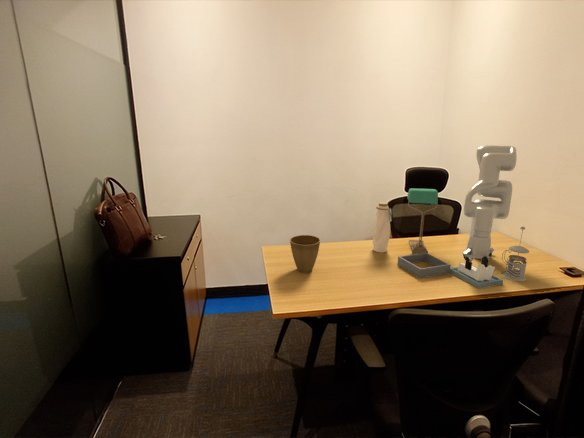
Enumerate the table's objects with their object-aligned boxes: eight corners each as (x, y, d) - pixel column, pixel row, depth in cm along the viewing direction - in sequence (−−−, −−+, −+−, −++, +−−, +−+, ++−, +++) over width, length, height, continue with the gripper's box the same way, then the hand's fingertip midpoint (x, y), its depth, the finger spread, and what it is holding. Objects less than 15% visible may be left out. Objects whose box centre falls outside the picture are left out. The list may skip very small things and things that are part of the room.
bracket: (489, 282, 158) (495, 267, 157) (477, 280, 156) (483, 265, 154) (468, 271, 170) (473, 257, 169) (457, 269, 168) (462, 255, 167)
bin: (425, 260, 185) (426, 252, 183) (449, 273, 168) (450, 264, 167) (397, 264, 179) (398, 256, 178) (419, 278, 163) (420, 269, 162)
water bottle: (392, 249, 201) (395, 202, 193) (387, 254, 193) (391, 205, 186) (375, 246, 206) (378, 200, 199) (370, 250, 199) (372, 203, 191)
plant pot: (288, 264, 179) (288, 235, 175) (317, 263, 181) (317, 234, 176) (291, 276, 165) (291, 245, 161) (321, 275, 166) (322, 244, 162)
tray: (470, 268, 174) (470, 264, 173) (502, 284, 157) (503, 279, 156) (448, 272, 170) (449, 268, 169) (479, 288, 152) (480, 283, 152)
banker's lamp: (405, 252, 196) (410, 192, 187) (402, 241, 215) (407, 186, 206) (434, 254, 193) (441, 193, 183) (428, 243, 212) (434, 186, 203)
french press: (518, 282, 158) (528, 230, 152) (494, 273, 168) (502, 224, 162) (530, 278, 162) (540, 227, 156) (506, 269, 172) (514, 221, 166)
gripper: (488, 229, 163) (483, 262, 168) (459, 232, 158) (455, 267, 163) (502, 233, 157) (497, 268, 161) (472, 237, 151) (467, 273, 156)
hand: (476, 267), depth 162 cm, fingers open, 9 cm apart
